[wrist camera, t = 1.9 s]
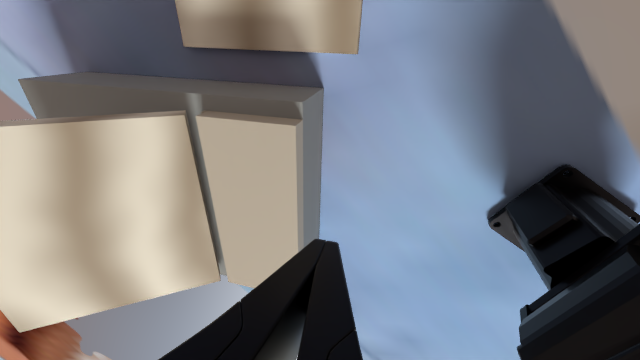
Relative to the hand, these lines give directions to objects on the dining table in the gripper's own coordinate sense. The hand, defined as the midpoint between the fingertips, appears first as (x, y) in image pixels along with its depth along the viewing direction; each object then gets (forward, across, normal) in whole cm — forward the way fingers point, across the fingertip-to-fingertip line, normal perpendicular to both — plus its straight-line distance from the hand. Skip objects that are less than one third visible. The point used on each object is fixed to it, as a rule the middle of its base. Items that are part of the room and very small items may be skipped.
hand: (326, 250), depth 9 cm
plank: (+14, +8, -9) cm, 18 cm away
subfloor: (+13, +14, +5) cm, 20 cm away
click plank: (+4, +16, +5) cm, 17 cm away
